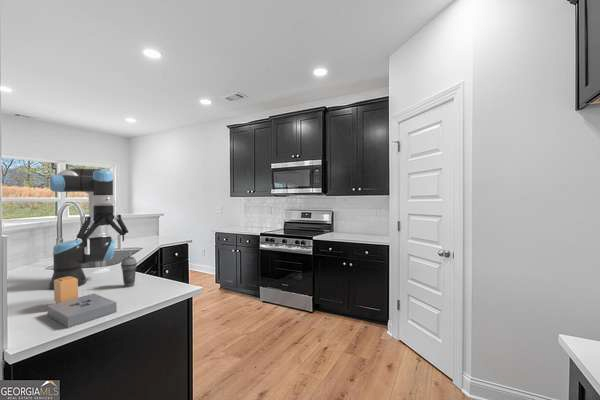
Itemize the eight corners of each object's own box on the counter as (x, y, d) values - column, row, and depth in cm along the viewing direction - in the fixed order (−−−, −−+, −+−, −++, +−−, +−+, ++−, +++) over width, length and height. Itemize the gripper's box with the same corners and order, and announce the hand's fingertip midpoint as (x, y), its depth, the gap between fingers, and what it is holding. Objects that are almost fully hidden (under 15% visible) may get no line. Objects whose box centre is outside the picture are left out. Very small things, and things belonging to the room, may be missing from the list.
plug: (54, 306, 119) (53, 278, 119) (71, 301, 124) (71, 275, 124) (60, 309, 115) (60, 281, 115) (78, 304, 120) (77, 277, 120)
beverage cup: (125, 283, 149) (125, 247, 149) (139, 283, 150) (139, 246, 149) (118, 288, 142) (117, 249, 141) (133, 287, 142) (132, 249, 142)
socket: (47, 315, 110) (47, 305, 110) (94, 302, 123) (93, 293, 123) (68, 328, 99) (67, 317, 99) (116, 311, 113) (116, 302, 113)
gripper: (74, 206, 113) (75, 257, 113) (135, 204, 135) (136, 247, 135) (66, 205, 116) (67, 255, 117) (127, 203, 138) (127, 245, 139)
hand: (104, 251), depth 126 cm, fingers open, 13 cm apart
